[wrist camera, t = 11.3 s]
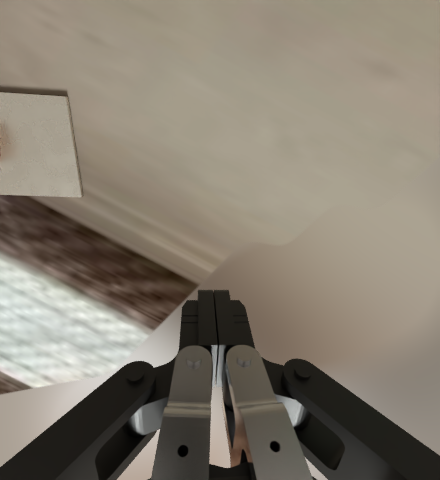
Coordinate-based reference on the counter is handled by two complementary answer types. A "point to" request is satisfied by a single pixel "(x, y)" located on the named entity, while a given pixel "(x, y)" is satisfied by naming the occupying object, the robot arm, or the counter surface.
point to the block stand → (37, 146)
